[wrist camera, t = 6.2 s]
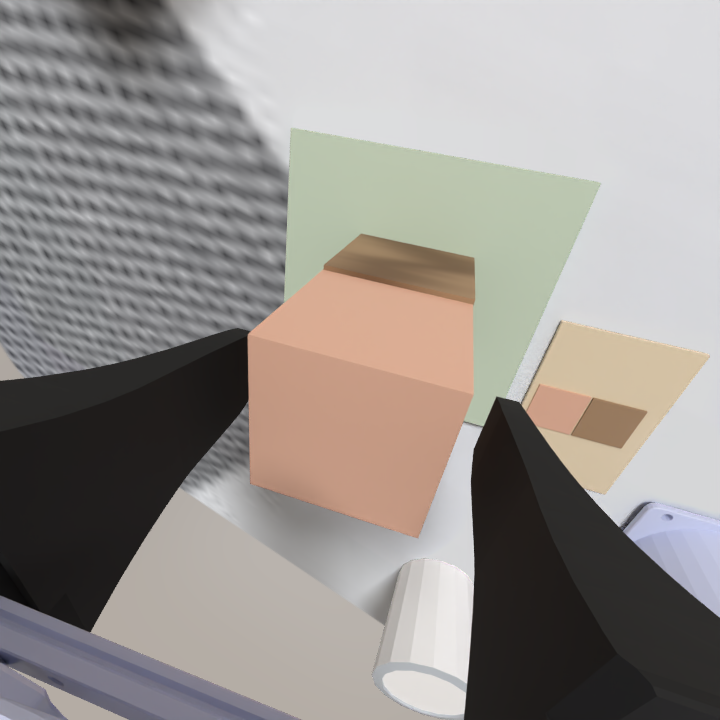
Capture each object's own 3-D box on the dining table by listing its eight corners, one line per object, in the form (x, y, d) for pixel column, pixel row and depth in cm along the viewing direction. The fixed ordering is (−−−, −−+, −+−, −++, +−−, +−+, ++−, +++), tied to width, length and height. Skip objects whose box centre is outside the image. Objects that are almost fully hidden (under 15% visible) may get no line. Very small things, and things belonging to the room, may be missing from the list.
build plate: (597, 181, 14) (601, 183, 14) (491, 422, 20) (491, 428, 20) (295, 128, 16) (290, 128, 15) (285, 366, 22) (281, 370, 22)
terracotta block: (472, 304, 12) (473, 394, 8) (433, 423, 14) (418, 538, 10) (322, 269, 12) (247, 334, 8) (311, 388, 15) (250, 483, 11)
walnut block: (474, 257, 16) (475, 299, 12) (443, 356, 18) (435, 420, 14) (361, 233, 17) (323, 264, 12) (347, 332, 19) (312, 385, 15)
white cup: (379, 552, 29) (355, 658, 23) (470, 553, 26) (470, 672, 20) (406, 606, 31) (391, 712, 26) (491, 611, 29) (496, 731, 23)
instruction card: (707, 353, 16) (711, 357, 16) (604, 491, 21) (605, 495, 20) (561, 320, 17) (562, 323, 16) (494, 460, 21) (494, 463, 21)
